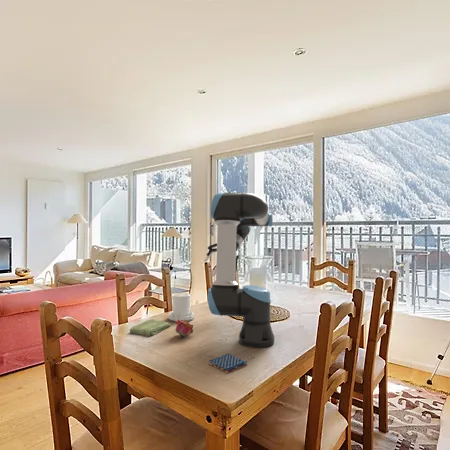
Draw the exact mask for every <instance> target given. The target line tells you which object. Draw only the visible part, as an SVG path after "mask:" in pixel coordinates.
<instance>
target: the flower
mask: <svg viewBox="0 0 450 450" xmlns="http://www.w3.org/2000/svg"><path fill="white" fill-rule="evenodd" d="M174 323H175V324H176V325H175V332H176V333H177V334H179V336H178V339H181V337H182V336H183V337H184V338H189V336H190V335H191V334H193V332H194V324H191V323H190V322H188V321H187V320H183V321H182V320H181V321H180V320H178V321H175V322H174Z"/></svg>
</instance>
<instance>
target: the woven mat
mask: <svg viewBox="0 0 450 450" xmlns="http://www.w3.org/2000/svg"><path fill="white" fill-rule="evenodd" d="M208 364H210V365H209V366H211V367H212V365H213V366H214V367H213V368H215V367H216V369H218V368H219V370H220V369H221V370H222V372H223V373H224V371H225V373H226V374H228V373H231V372H233V371H235V370H238V369H240V367H241V368H243V367H245V366H247V365H248V361H246V360H245V359H242V358H239V357H237V356H236V355H234V354H232V353H231V354H230V353H228V354H227V353H226V354H225V355H224V354H223V355H220V356H219V357H216V358H212V359H209V361H208ZM221 370H220V371H221Z"/></svg>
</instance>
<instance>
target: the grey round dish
mask: <svg viewBox="0 0 450 450" xmlns="http://www.w3.org/2000/svg"><path fill="white" fill-rule="evenodd" d="M194 319H195V313H194V312H193V311H190V312H189V316H187V317H173V311H170V312H169V313H168V321H169V322H171V323H176V322H175V321H178V320H180V321H181V320H182V321H183V320H187V321H188V323H190V322H191V321H194Z"/></svg>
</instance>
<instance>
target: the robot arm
mask: <svg viewBox="0 0 450 450" xmlns="http://www.w3.org/2000/svg"><path fill="white" fill-rule="evenodd" d="M210 218H212V219H213V220H214V221H213V222H214V224H215V225H216V226H217V231H216V232H217V236H216V243H213V244H211V245H209V246H207V250H208V252H207V253H206V257H205V259H204V260H203V262H207V261H208V260H209V259H210V258H211V256H212V255H213V254H214V253H216V260H215V261H216V263H215V265H216V266H215V267H216V269H215V280H214V281H213V283H212V284H211V285H212V286H211V287H209V288H208V291H207V305H208V310H209V312H210V313H211V314H212V315H214V316H221V317H222V316H226V317H227V316H229V317H242V325H241V328H240V331H239V334H238V342H239V344H241V345H243V346H245V347H248V348H257V349H258V348H268V347H271V346H273V345H274V344H275V335H274V332H273V329H272V325H271V302H272V301H271V292H270V290H269V289H267V288H265V287H263V286H259V285H251V284H250V285H249V284H248V285H247V284H245V285H243V287H242V288H240V287H239V286H240V285H239V283H238V282H237V280H236V272H237V271H238V262H239V258H240V256H239V255H237V251H238V250H239V248H240V246H241V245H242V244H243V242H244V241H245V239H246V238H247V237H248V236H249V234H250V232H251V229H252V227H264V228H267V227H272V226H273V223H274V221H273V213H272V212H270V213H269V205H268V202H267V201H266V200H265V199H264V198H263V197H261V196H259V195H257V194H255V193H252V192H222V193H215V194H214V196H213V197H212V201H211V203H210ZM215 247H216V248H215Z"/></svg>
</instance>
